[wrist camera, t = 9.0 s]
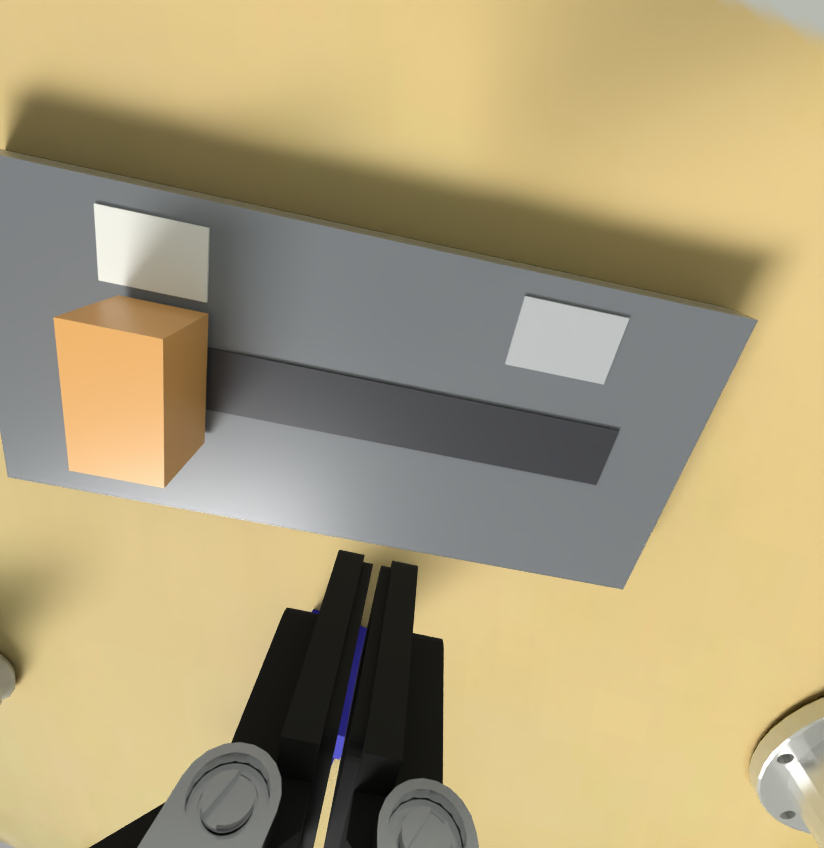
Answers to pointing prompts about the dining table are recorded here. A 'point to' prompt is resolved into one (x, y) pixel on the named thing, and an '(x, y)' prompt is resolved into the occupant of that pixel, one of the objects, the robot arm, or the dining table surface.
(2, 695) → the rook chess piece
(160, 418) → the switch knob
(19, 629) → the dining table surface
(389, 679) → the robot arm
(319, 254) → the switch panel
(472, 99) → the dining table surface
